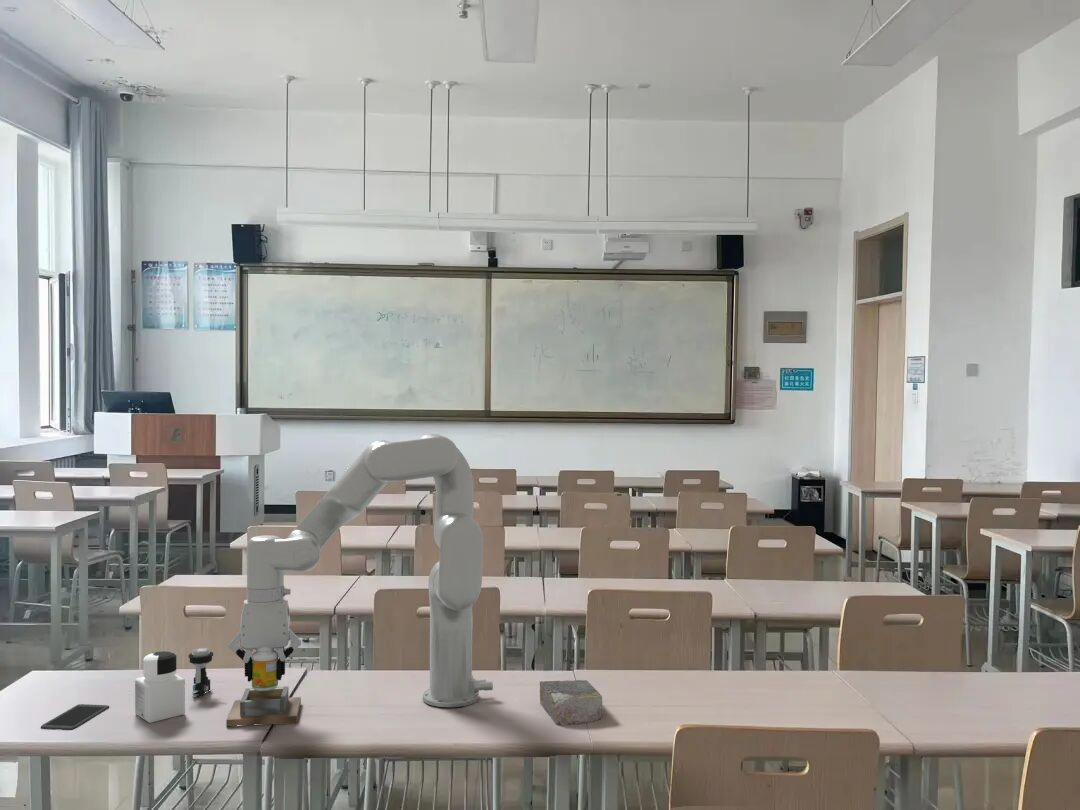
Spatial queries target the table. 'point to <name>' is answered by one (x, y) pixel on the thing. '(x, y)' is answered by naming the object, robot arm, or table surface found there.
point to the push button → (200, 670)
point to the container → (159, 688)
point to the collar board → (264, 708)
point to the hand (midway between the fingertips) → (265, 678)
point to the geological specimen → (570, 701)
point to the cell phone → (75, 717)
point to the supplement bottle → (264, 669)
